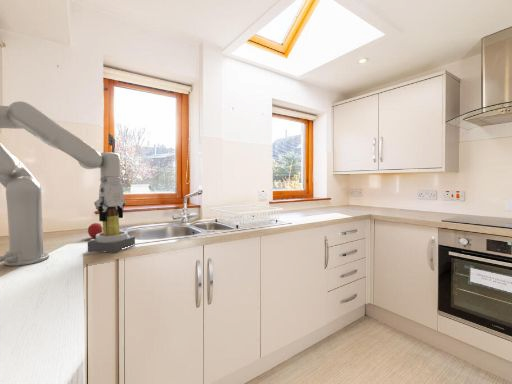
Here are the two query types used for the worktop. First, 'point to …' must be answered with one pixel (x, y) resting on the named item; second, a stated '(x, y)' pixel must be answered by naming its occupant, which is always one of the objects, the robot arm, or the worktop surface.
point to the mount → (111, 242)
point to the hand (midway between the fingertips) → (111, 219)
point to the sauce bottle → (111, 222)
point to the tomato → (94, 229)
